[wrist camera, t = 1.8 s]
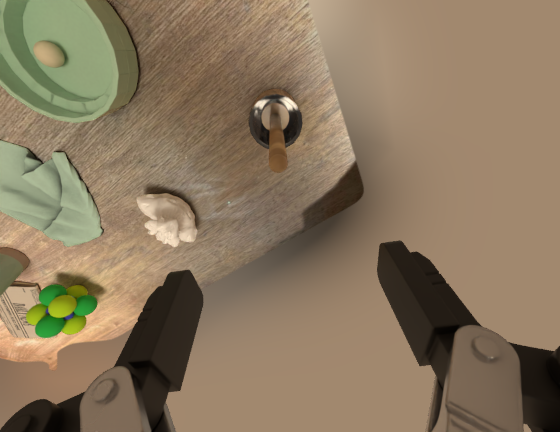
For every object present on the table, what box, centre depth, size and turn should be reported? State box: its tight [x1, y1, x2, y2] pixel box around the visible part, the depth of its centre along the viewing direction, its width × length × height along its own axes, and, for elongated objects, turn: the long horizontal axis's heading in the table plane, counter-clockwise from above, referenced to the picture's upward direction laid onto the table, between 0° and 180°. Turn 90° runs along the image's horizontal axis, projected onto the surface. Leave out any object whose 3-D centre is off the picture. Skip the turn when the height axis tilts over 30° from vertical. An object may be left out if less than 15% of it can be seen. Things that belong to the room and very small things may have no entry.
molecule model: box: [26, 284, 97, 338], centre depth 52 cm, size 9×9×9 cm
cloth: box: [0, 140, 103, 247], centre depth 42 cm, size 20×22×2 cm
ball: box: [33, 41, 65, 68], centre depth 30 cm, size 3×3×3 cm
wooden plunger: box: [261, 101, 289, 173], centre depth 28 cm, size 4×4×20 cm
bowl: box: [0, 0, 139, 123], centre depth 29 cm, size 15×15×6 cm
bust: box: [137, 193, 197, 247], centre depth 41 cm, size 12×8×11 cm
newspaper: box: [0, 282, 57, 338], centre depth 60 cm, size 23×12×2 cm, turn 164°
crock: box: [249, 89, 302, 149], centre depth 34 cm, size 7×7×6 cm
